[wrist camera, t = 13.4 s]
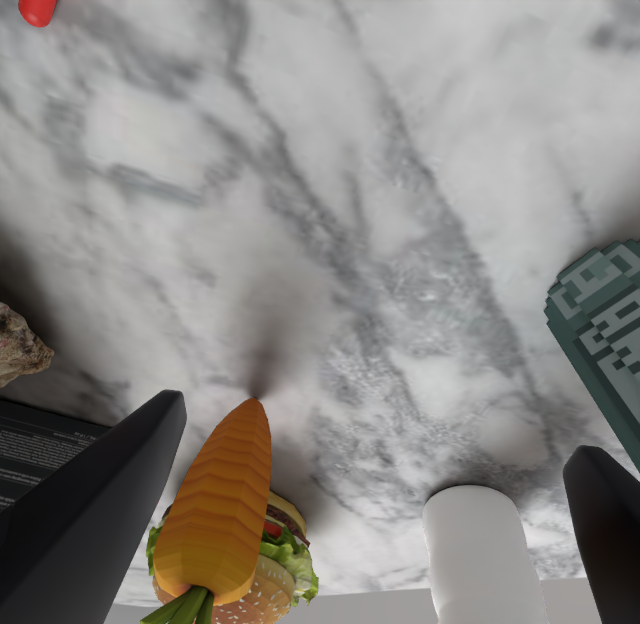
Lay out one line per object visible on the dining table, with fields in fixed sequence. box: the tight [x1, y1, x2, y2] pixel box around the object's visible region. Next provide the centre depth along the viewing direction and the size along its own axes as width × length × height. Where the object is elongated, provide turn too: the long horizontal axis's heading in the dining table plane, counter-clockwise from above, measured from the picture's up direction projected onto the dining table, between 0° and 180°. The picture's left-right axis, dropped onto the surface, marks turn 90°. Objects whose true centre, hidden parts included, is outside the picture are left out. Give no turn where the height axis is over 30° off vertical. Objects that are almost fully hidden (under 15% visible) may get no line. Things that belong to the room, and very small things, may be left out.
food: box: [146, 491, 318, 624], centre depth 32 cm, size 14×14×8 cm
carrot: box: [140, 398, 271, 624], centre depth 21 cm, size 5×5×15 cm
